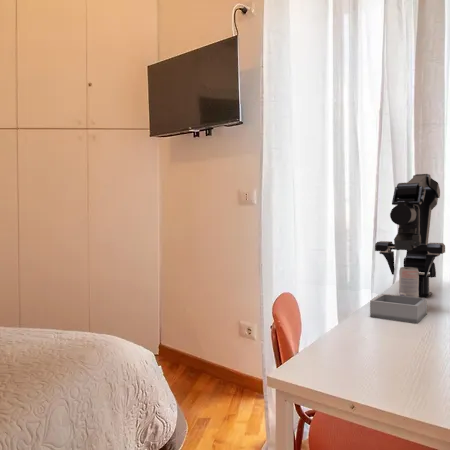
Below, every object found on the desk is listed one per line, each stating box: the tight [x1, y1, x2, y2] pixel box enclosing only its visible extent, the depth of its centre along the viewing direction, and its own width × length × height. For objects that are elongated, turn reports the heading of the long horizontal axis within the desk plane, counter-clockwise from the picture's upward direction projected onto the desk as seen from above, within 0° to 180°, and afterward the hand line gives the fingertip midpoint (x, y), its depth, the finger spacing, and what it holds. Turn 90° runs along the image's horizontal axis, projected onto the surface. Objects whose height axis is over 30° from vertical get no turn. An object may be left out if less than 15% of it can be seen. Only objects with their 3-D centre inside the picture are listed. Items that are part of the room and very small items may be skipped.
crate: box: [369, 293, 428, 324], centre depth 113 cm, size 12×12×4 cm
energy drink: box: [398, 266, 420, 298], centre depth 123 cm, size 5×5×12 cm
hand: (409, 275), depth 123 cm, fingers open, 9 cm apart
